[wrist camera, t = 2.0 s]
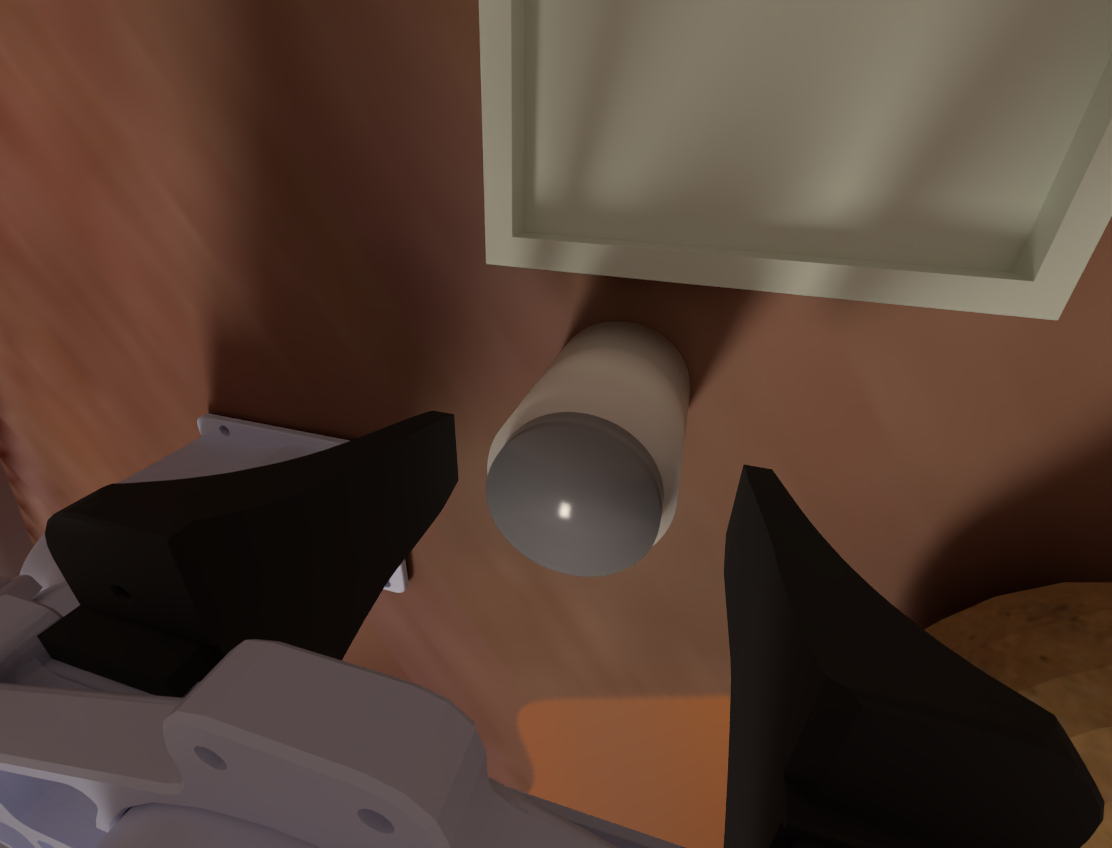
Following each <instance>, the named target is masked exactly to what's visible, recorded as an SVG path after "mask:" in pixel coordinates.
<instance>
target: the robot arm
mask: <svg viewBox="0 0 1112 848" xmlns="http://www.w3.org/2000/svg"><path fill="white" fill-rule="evenodd" d="M197 424H198V428H199V431H200V434H201V436H202V437H200V438H198V439H197V440H195V441H193V442H191V443H189V444H188V445H186V446H184V447H182V448H180V449H179V450H177V451H175V452H173V453H171V454H170V455H168V456H166V457H164V458H163V459H161V460H159V461H157V462H155V463H154V464H152V465H150V466H148V467H146V468H145V469H143V470H141V471H139V472H137V473H136V474H134V475H132V476H130V477H128V478H127V479H125V480H123V481H121V482H119V483H118V484H110V485H107V486H105V487H103V488H100V489H99V490H97V491H95V492H93V493H91V494H90V495H88V496H86V497H84V498H82V499H80V500H79V501H77V502H75V503H73V504H71V505H70V506H68V507H66V508H64V509H62V510H60V511H59V512H57V513H55V514H54V515H53V516H52V517H51V518H50V519H48V521H47V526H46V531H45V533H44V534H43V535H42V536H41V538H40V539H39V540H38V542H37V543H36V544H35V546H34V547H33V548H32V550H31V552H30V553H29V555H28V556H27V558H26V560H25V562H24V564H23V567H22V569H21V572H20V576H18V577H15V578H13V579H12V578H11V577H8V576H6V577H5V576H4V577H3V576H1V577H0V848H685V847H682V846H679V845H676V844H673V843H670V842H667V841H664V840H661V839H659V838H655V837H653V836H650V835H647V834H644V833H641V832H638V831H635V830H632V829H629V828H626V827H623V826H621V825H618V824H615V823H611V822H609V821H606V820H603V819H600V818H597V817H594V816H591V815H588V814H585V813H582V812H579V811H577V810H573V809H571V808H568V807H565V806H562V805H559V804H556V803H553V802H550V801H547V800H544V799H541V798H538V797H536V796H533V795H530V794H527V793H524V792H521V791H518V790H515V789H512V788H509V787H507V786H505V785H503V784H501V783H500V782H498V781H496V780H494V779H492V778H490V777H488V773H487V754H486V750H485V748H484V746H483V743H482V741H481V739H480V736H479V734H478V732H477V729H476V727H475V725H474V722H473V721H472V720H471V719H470V718H469V717H468V716H467V715H466V714H465V713H464V712H463V711H461V710H460V709H459V708H458V707H457V706H456V705H455V704H454V703H453V702H452V701H451V700H449V699H448V698H446V697H444V696H442V695H440V694H437V693H435V692H433V691H431V690H429V689H427V688H425V687H423V686H421V685H419V684H416V683H413V682H410V681H406V680H403V679H400V678H397V677H393V676H390V675H387V674H384V673H380V672H377V671H374V670H371V669H367V668H364V667H361V666H358V665H354V664H351V663H348V662H344V661H342V659H343V657H344V655H345V653H346V652H347V650H348V648H349V646H350V645H351V643H352V641H353V639H354V638H355V636H356V634H357V632H358V630H359V629H360V627H361V625H362V623H363V622H364V620H365V618H366V616H367V615H368V613H369V611H370V610H371V608H372V607H373V605H374V603H375V602H376V600H377V598H378V597H379V595H380V593H381V592H382V590H383V589H385V590H389V591H393V592H397V593H401V592H404V590H405V589H406V588H407V586H408V576H407V568H406V561H405V558H406V557H407V556H408V554H409V553H410V552H411V550H412V549H413V548H414V546H415V545H416V544H417V542H418V541H419V540H420V539H421V537H422V536H423V535H424V533H425V532H426V531H427V529H428V528H429V527H430V525H431V524H432V523H433V521H434V520H435V519H436V517H437V516H438V515H439V513H440V512H441V511H442V509H443V507H444V505H445V504H446V502H447V500H448V499H449V497H450V495H451V493H452V491H453V489H454V487H455V485H456V483H457V481H458V467H457V452H456V438H455V423H454V414H448V413H443V412H437V411H430V412H426V413H423V414H420V415H417V416H414V417H411V418H409V419H406V420H403V421H401V422H398V423H396V424H393V425H391V426H388V427H386V428H383V429H380V430H378V431H375V432H373V433H370V434H368V435H365V436H363V437H360V438H357V439H354V440H351V441H350V440H344V439H339V438H334V437H329V436H323V435H318V434H313V433H308V432H303V431H297V430H292V429H287V428H282V427H276V426H271V425H266V424H261V423H256V422H250V421H245V420H240V419H235V418H230V417H224V416H219V415H214V414H205V415H203V416H201V417H199V418H198V420H197ZM724 580H725V593H726V607H727V619H728V632H729V645H730V657H731V704H730V734H729V758H728V781H727V799H726V818H725V835H724V848H1081V847H1082V846H1083V845H1084V844H1085V843H1086V842H1087V841H1088V840H1089V839H1090V838H1091V836H1092V835H1093V834H1094V832H1095V831H1096V829H1097V828H1098V827H1099V825H1100V824H1101V822H1102V821H1103V817H1104V805H1105V802H1104V799H1103V797H1102V795H1101V793H1100V791H1099V789H1098V787H1097V785H1096V783H1095V781H1094V779H1093V778H1092V776H1091V774H1090V772H1089V771H1088V769H1087V767H1086V765H1085V764H1084V762H1083V760H1082V758H1081V757H1080V755H1079V753H1078V751H1077V750H1076V748H1075V746H1074V745H1073V743H1072V741H1071V740H1070V738H1069V737H1068V735H1067V733H1066V732H1065V730H1064V728H1063V727H1062V725H1061V724H1060V722H1059V721H1058V720H1057V718H1056V716H1055V715H1054V714H1052V713H1051V712H1049V711H1047V710H1046V709H1044V708H1042V707H1041V706H1039V705H1037V704H1036V703H1034V702H1032V701H1031V700H1029V699H1028V698H1026V697H1024V696H1023V695H1021V694H1019V693H1018V692H1016V691H1014V690H1013V689H1011V688H1009V687H1008V686H1006V685H1005V684H1003V683H1001V682H1000V681H998V680H996V679H995V678H993V677H991V676H990V675H988V674H986V673H985V672H983V671H982V670H980V669H979V668H977V667H976V666H974V665H973V664H971V663H970V662H969V661H967V660H966V659H964V658H963V657H961V656H960V655H958V654H957V653H955V652H954V651H953V650H951V649H950V648H948V647H947V646H945V645H944V644H942V643H941V642H940V641H938V640H937V639H936V638H934V637H933V636H931V635H930V634H929V633H927V632H926V631H925V630H923V629H922V628H921V627H919V626H918V625H917V624H916V623H914V622H913V621H912V620H911V619H909V618H908V617H907V616H906V615H904V614H903V613H902V612H901V611H899V610H898V609H897V608H896V607H894V606H893V605H892V604H891V603H889V602H888V601H887V600H886V599H885V598H884V597H883V596H881V595H880V594H879V593H878V592H877V591H876V590H874V589H873V588H872V587H871V586H870V585H869V584H868V583H867V582H866V581H865V580H864V579H863V578H862V577H861V576H860V575H859V574H857V573H856V572H855V571H854V570H853V569H852V568H851V567H850V566H849V565H848V564H847V563H846V562H845V561H844V560H843V559H842V558H841V557H840V555H839V554H838V553H837V552H836V551H835V550H834V549H833V548H832V547H831V545H830V544H829V543H828V542H827V541H826V540H825V539H824V538H823V537H822V535H821V534H820V533H819V532H818V531H817V529H816V528H815V527H814V526H813V525H812V523H811V522H810V521H809V520H808V518H807V517H806V516H805V514H804V513H803V512H802V510H801V509H800V508H799V506H798V505H797V504H796V502H795V501H794V500H793V498H792V497H791V495H790V494H789V493H788V491H787V490H786V488H785V487H784V485H783V484H782V483H781V481H780V480H779V478H778V477H777V476H776V474H775V473H774V471H773V470H772V469H766V468H761V467H755V466H749V465H744V466H743V469H742V473H741V477H740V481H739V485H738V489H737V493H736V497H735V501H734V505H733V509H732V513H731V517H730V521H729V525H728V529H727V533H726V544H725V562H724Z"/></svg>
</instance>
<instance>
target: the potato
mask: <svg viewBox="0 0 1112 848" xmlns="http://www.w3.org/2000/svg"><path fill="white" fill-rule="evenodd" d="M924 630H925V631H926V632H927V633H929V634H930V635H931V636H933V637H934V638H936V639H937V640H938V641H940V642H941V643H942V644H944V645H945V646H947V647H948V648H950V649H951V650H953V651H954V652H955V653H957V654H958V655H960V656H961V657H963V658H964V659H966V660H967V661H969V662H970V663H971V664H973V665H974V666H976V667H977V668H979V669H980V670H982V671H983V672H985V673H986V674H988V675H990V676H991V677H993V678H995V679H996V680H998V681H1000V682H1001V683H1003V684H1005V685H1006V686H1008V687H1009V688H1011V689H1013V690H1014V691H1016V692H1018V693H1019V694H1021V695H1023V696H1024V697H1026V698H1028V699H1029V700H1031V701H1032V702H1034V703H1036V704H1037V705H1039V706H1041V707H1042V708H1044V709H1046V710H1047V711H1049V712H1051V713H1052V714H1054V715H1055V716H1056V718H1057V720H1058V721H1059V722H1060V724H1061V725H1062V727H1063V728H1064V730H1065V732H1066V733H1067V735H1068V737H1069V738H1070V740H1071V741H1072V743H1073V745H1074V746H1075V748H1076V750H1077V751H1078V753H1079V755H1080V757H1081V758H1082V760H1083V762H1084V764H1085V765H1086V767H1087V769H1088V771H1089V772H1090V774H1091V776H1092V778H1093V779H1094V781H1095V783H1096V785H1097V787H1098V789H1099V791H1100V793H1101V795H1102V797H1103V799H1104V802H1105V805H1104V817H1103V821H1102V822H1101V824H1100V825H1099V827H1098V828H1097V829H1096V831H1095V832H1094V834H1093V835H1092V836H1091V838H1090V839H1089V840H1088V841H1087V842H1086V843H1085V844H1084V845H1083V846H1082V847H1081V848H1112V582H1063V583H1058V584H1053V585H1048V586H1044V587H1039V588H1034V589H1029V590H1024V591H1019V592H1015V593H1010V594H1005V595H1000V596H995V597H993V598H990V599H988V600H986V601H984V602H981V603H979V604H977V605H974V606H972V607H970V608H967V609H965V610H963V611H961V612H958V613H956V614H954V615H951V616H949V617H947V618H944V619H942V620H940V621H938V622H937V623H935V624H933V625H931V626H929V627H928V628H926V629H924Z"/></svg>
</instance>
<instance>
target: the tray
mask: <svg viewBox="0 0 1112 848" xmlns="http://www.w3.org/2000/svg"><path fill="white" fill-rule="evenodd" d="M479 28H480V64H481V99H482V135H483V171H484V206H485V242H486V264H492V265H502V266H512V267H523V268H533V269H543V270H553V271H563V272H573V273H583V274H593V275H604V276H614V277H624V278H634V279H644V280H654V281H664V282H674V283H685V284H695V285H705V286H715V287H725V288H735V289H745V290H755V291H766V292H776V293H786V294H796V295H806V296H816V297H826V298H836V299H847V300H857V301H867V302H877V303H887V304H897V305H907V306H917V307H928V308H938V309H948V310H958V311H968V312H978V313H988V314H998V315H1009V316H1019V317H1029V318H1039V319H1049V320H1058V319H1059V317H1060V315H1061V313H1062V311H1063V309H1064V307H1065V305H1066V303H1067V301H1068V300H1069V298H1070V296H1071V294H1072V292H1073V290H1074V288H1075V286H1076V284H1077V282H1078V280H1079V278H1080V276H1081V274H1082V272H1083V271H1084V269H1085V267H1086V265H1087V263H1088V261H1089V259H1090V257H1091V255H1092V253H1093V251H1094V249H1095V247H1096V245H1097V244H1098V242H1099V240H1100V238H1101V236H1102V234H1103V232H1104V230H1105V228H1106V226H1107V224H1108V222H1109V220H1110V218H1111V216H1112V0H479Z"/></svg>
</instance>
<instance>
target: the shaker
mask: <svg viewBox="0 0 1112 848" xmlns="http://www.w3.org/2000/svg"><path fill="white" fill-rule="evenodd" d="M689 398H690V378H689V373H688V370H687V367H686V364H685V362H684V360H683V358H682V356H681V355H680V353H679V352H678V350H677V349H676V348H675V347H674V345H673V344H672V343H671V342H670V341H669V340H667V339H666V338H665V337H664V336H663V335H661V334H660V333H658V332H657V331H655V330H653V329H651V328H649V327H647V326H644V325H641V324H638V323H634V322H628V321H607V322H603V323H598V324H595V325H593V326H590V327H588V328H586V329H584V330H582V331H581V332H579V333H578V334H577V335H575V336H574V337H573V338H572V339H571V340H570V341H569V342H568V343H567V344H566V346H565V347H564V348H563V349H562V351H561V352H560V353H559V355H558V356H557V357H556V358H555V360H554V361H553V362H552V364H551V365H550V366H549V367H548V369H547V370H546V371H545V372H544V374H543V375H542V376H541V378H540V379H539V380H538V381H537V383H536V384H535V385H534V387H533V388H532V389H531V390H530V392H529V393H528V394H527V396H526V397H525V398H524V399H523V401H522V402H521V403H520V405H519V406H518V407H517V408H516V410H515V411H514V412H513V413H512V415H511V416H510V417H509V419H508V420H507V421H506V422H505V424H504V425H503V426H502V428H501V429H500V430H499V431H498V433H497V435H496V437H495V438H494V440H493V442H492V445H491V448H490V451H489V456H488V462H487V474H488V477H487V482H486V495H487V502H488V506H489V510H490V512H491V515H492V517H493V520H494V521H495V523H496V525H497V527H498V528H499V530H500V531H501V533H502V534H503V535H504V537H505V538H506V539H507V540H508V541H509V542H510V543H511V544H512V545H513V546H514V547H515V548H516V549H517V550H518V551H520V552H521V553H522V554H523V555H525V556H526V557H528V558H529V559H531V560H532V561H534V562H536V563H538V564H540V565H542V566H544V567H546V568H549V569H551V570H554V571H557V572H560V573H564V574H568V575H574V576H583V577H597V576H604V575H610V574H613V573H617V572H620V571H622V570H625V569H627V568H629V567H630V566H632V565H634V564H635V563H637V562H638V561H639V560H641V559H642V558H643V557H644V556H645V555H646V554H647V553H648V551H649V550H650V548H651V547H652V546H653V545H654V544H656V543H657V542H658V541H659V540H660V538H661V537H662V536H663V535H664V534H665V532H666V531H667V529H668V528H669V526H670V524H671V522H672V520H673V518H674V514H675V511H676V507H677V499H678V490H679V482H680V473H681V465H682V457H683V448H684V440H685V432H686V423H687V415H688V407H689Z"/></svg>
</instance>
